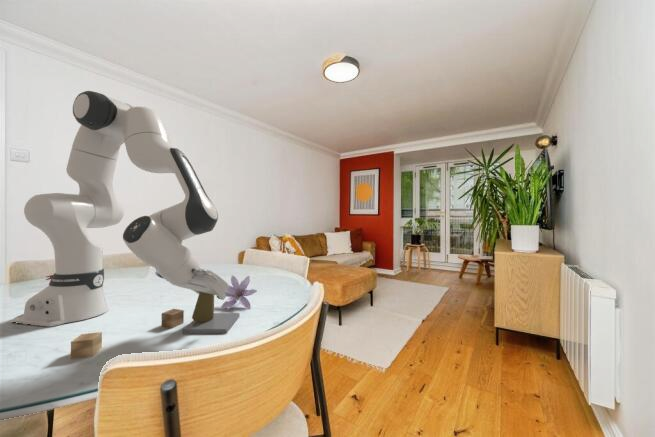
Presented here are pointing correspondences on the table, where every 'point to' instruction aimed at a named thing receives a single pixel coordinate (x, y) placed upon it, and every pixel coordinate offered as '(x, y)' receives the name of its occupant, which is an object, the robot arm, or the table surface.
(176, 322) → the walnut block
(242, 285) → the water lily
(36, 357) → the table surface
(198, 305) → the cork
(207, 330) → the coaster
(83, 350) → the oak block
